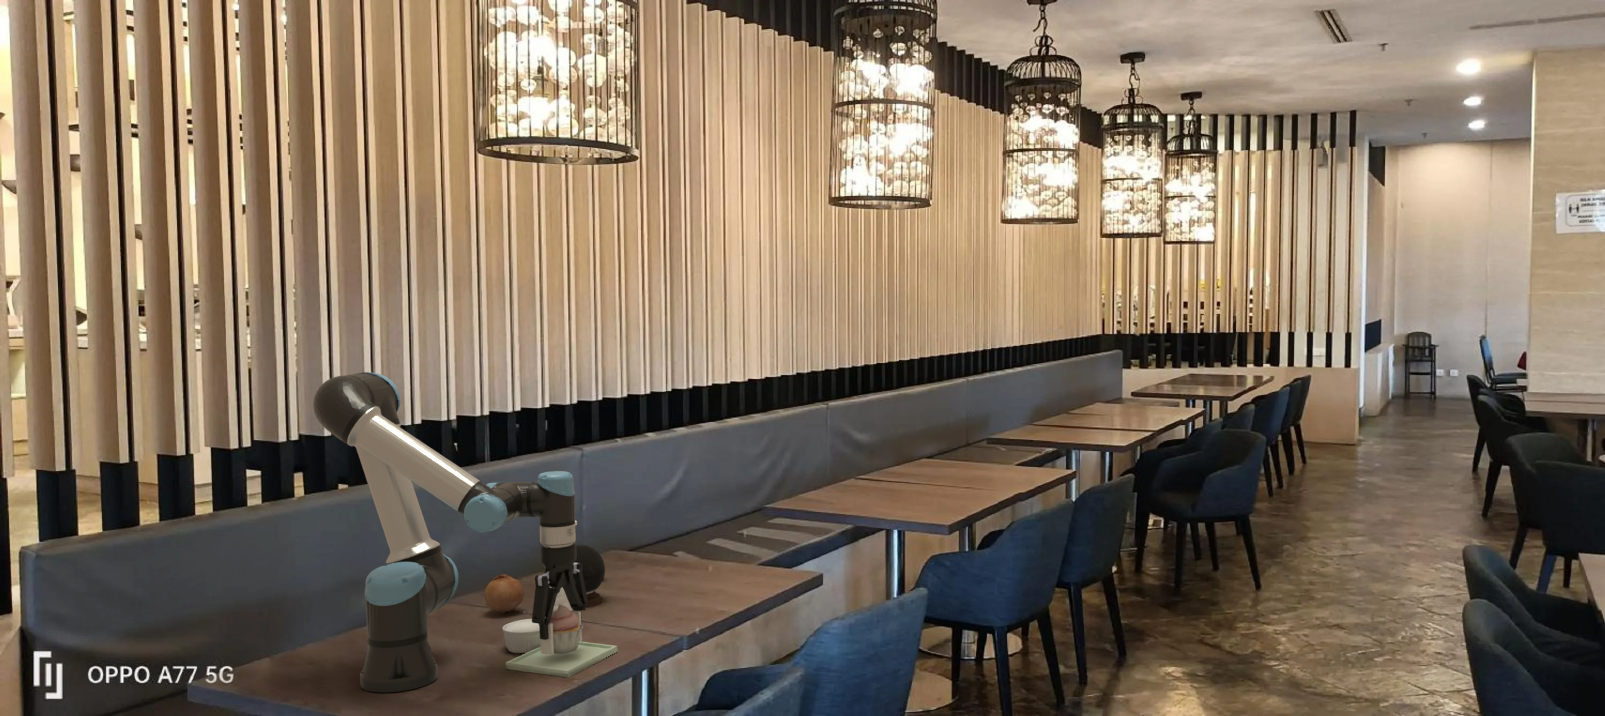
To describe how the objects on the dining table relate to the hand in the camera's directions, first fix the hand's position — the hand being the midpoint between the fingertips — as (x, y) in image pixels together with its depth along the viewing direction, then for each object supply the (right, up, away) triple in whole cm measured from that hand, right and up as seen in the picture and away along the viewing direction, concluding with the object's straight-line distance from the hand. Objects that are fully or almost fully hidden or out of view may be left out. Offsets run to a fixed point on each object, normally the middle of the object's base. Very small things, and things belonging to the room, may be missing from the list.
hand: (561, 646), depth 246 cm
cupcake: (0, -1, 0) cm, 1 cm away
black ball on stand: (-5, -1, +48) cm, 48 cm away
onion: (-23, -2, +39) cm, 45 cm away
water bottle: (-5, -2, +25) cm, 26 cm away
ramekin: (-10, -3, +10) cm, 14 cm away
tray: (0, -3, 0) cm, 3 cm away
